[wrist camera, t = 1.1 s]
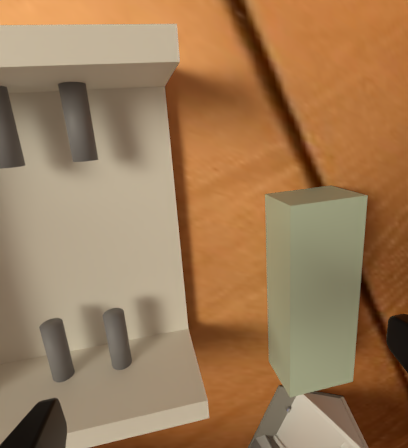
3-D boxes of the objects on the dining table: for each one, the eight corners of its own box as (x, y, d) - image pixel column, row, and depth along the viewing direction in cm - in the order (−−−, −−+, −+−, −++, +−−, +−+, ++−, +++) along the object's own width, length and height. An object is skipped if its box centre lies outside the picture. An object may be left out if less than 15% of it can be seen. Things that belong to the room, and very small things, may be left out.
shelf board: (322, 346, 26) (352, 381, 23) (267, 358, 25) (290, 397, 22) (328, 184, 22) (367, 195, 18) (263, 193, 21) (290, 205, 17)
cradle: (188, 335, 23) (209, 418, 16) (-27, 377, 20) (-106, 495, 14) (161, 65, 17) (176, 24, 11) (-137, 75, 15) (-356, 28, 8)
